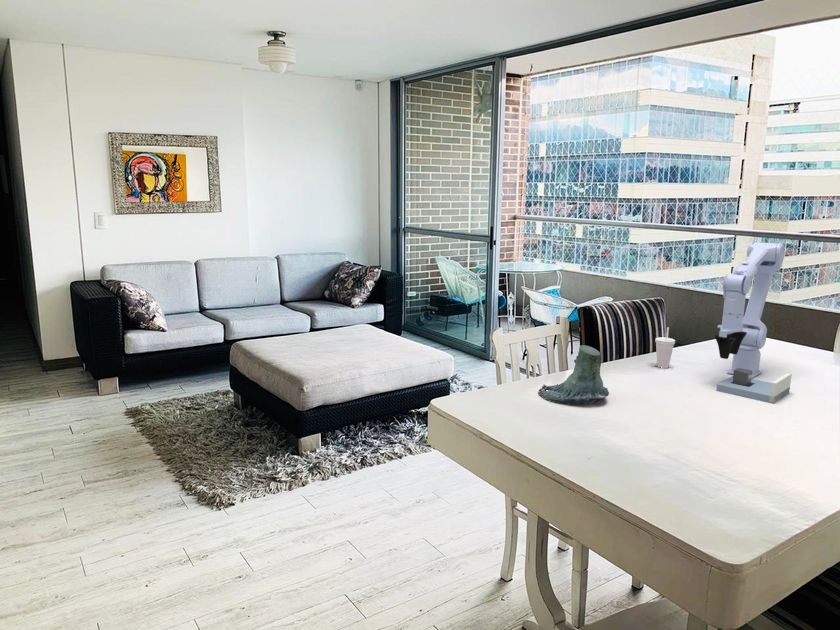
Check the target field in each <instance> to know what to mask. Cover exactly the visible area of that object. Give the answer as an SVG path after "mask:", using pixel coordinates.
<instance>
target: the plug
mask: <svg viewBox="0 0 840 630" xmlns="http://www.w3.org/2000/svg"><path fill="white" fill-rule="evenodd" d="M732 376H733V382H732V383H733V384H737V385H742V386H746V387H750V386H751V379H753V378H752V370H747V369H742V368H737V369H736V370H734V373H733V374H732Z"/></svg>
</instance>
